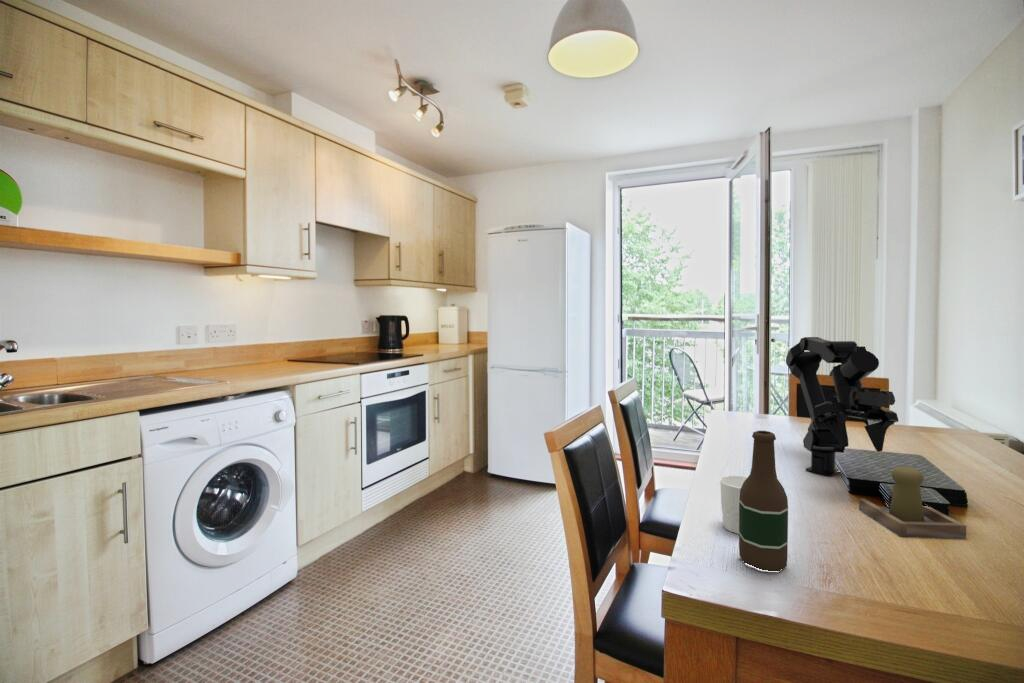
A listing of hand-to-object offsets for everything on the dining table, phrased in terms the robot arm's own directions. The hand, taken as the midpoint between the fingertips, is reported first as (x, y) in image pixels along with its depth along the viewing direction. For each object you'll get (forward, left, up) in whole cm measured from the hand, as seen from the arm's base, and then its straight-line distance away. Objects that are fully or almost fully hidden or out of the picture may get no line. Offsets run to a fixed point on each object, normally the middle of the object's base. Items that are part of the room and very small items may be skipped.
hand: (863, 449), depth 112 cm
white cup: (+37, -9, -13) cm, 40 cm away
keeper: (+6, +10, -13) cm, 17 cm away
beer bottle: (+47, +1, -13) cm, 49 cm away
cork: (+6, +10, -12) cm, 17 cm away
